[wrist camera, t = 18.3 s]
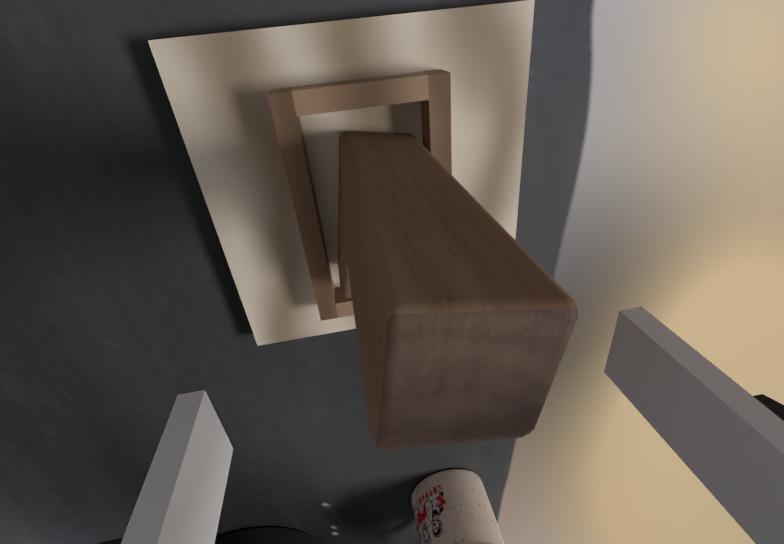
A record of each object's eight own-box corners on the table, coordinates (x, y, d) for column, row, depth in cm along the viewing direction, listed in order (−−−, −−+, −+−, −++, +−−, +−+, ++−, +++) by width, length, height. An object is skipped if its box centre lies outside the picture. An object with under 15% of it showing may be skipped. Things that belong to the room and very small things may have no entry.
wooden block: (400, 263, 28) (500, 531, 13) (337, 264, 27) (363, 550, 12) (414, 132, 24) (591, 306, 8) (339, 128, 23) (383, 313, 8)
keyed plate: (260, 333, 31) (254, 364, 28) (158, 40, 21) (131, 40, 18) (502, 290, 33) (521, 316, 30) (522, 1, 22) (553, -4, 19)
